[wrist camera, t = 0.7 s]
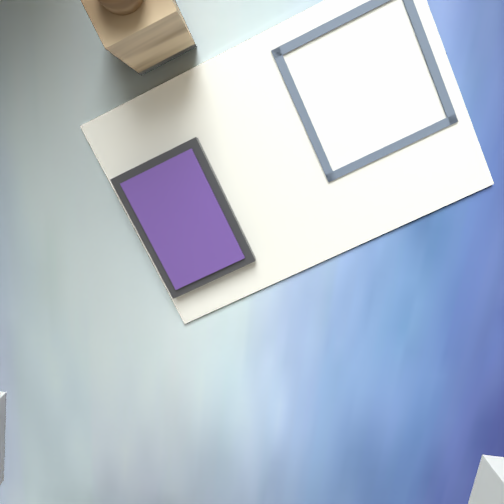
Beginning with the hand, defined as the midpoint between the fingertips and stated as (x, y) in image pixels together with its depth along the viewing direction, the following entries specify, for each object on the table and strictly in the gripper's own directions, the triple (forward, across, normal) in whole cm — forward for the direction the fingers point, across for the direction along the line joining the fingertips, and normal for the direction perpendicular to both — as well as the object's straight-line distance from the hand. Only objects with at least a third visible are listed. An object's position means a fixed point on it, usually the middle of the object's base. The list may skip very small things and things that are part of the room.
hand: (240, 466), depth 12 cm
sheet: (+24, +2, +8) cm, 25 cm away
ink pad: (+24, -5, +3) cm, 24 cm away
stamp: (+24, -9, +16) cm, 30 cm away
